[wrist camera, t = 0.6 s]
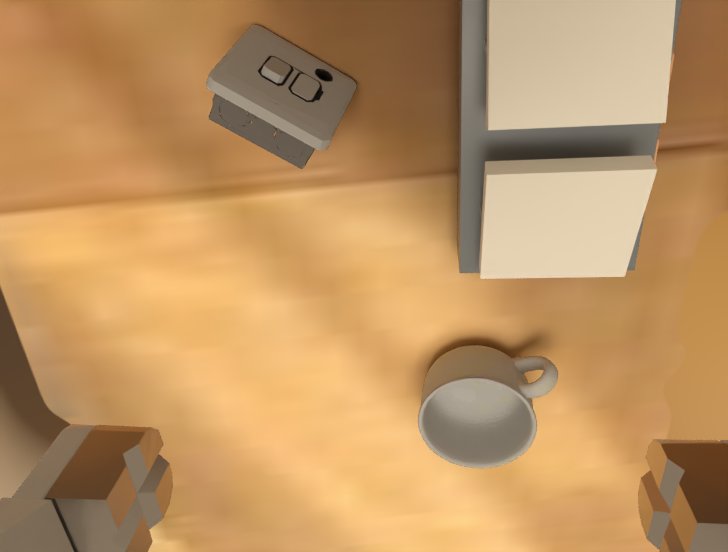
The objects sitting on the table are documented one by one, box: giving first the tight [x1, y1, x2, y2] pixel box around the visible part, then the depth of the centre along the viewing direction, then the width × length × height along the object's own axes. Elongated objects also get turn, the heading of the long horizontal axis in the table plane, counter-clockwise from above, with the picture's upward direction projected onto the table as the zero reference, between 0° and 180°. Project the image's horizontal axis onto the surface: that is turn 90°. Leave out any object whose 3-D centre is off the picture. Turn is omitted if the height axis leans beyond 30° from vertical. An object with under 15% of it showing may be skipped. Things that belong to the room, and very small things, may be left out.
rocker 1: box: [486, 0, 676, 130], centre depth 38 cm, size 10×11×2 cm
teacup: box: [418, 345, 558, 468], centre depth 58 cm, size 14×11×8 cm
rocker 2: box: [479, 155, 657, 279], centre depth 44 cm, size 10×11×2 cm
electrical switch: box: [206, 25, 357, 169], centre depth 45 cm, size 9×5×9 cm, turn 61°
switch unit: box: [457, 0, 682, 273], centre depth 45 cm, size 24×14×7 cm, turn 4°
